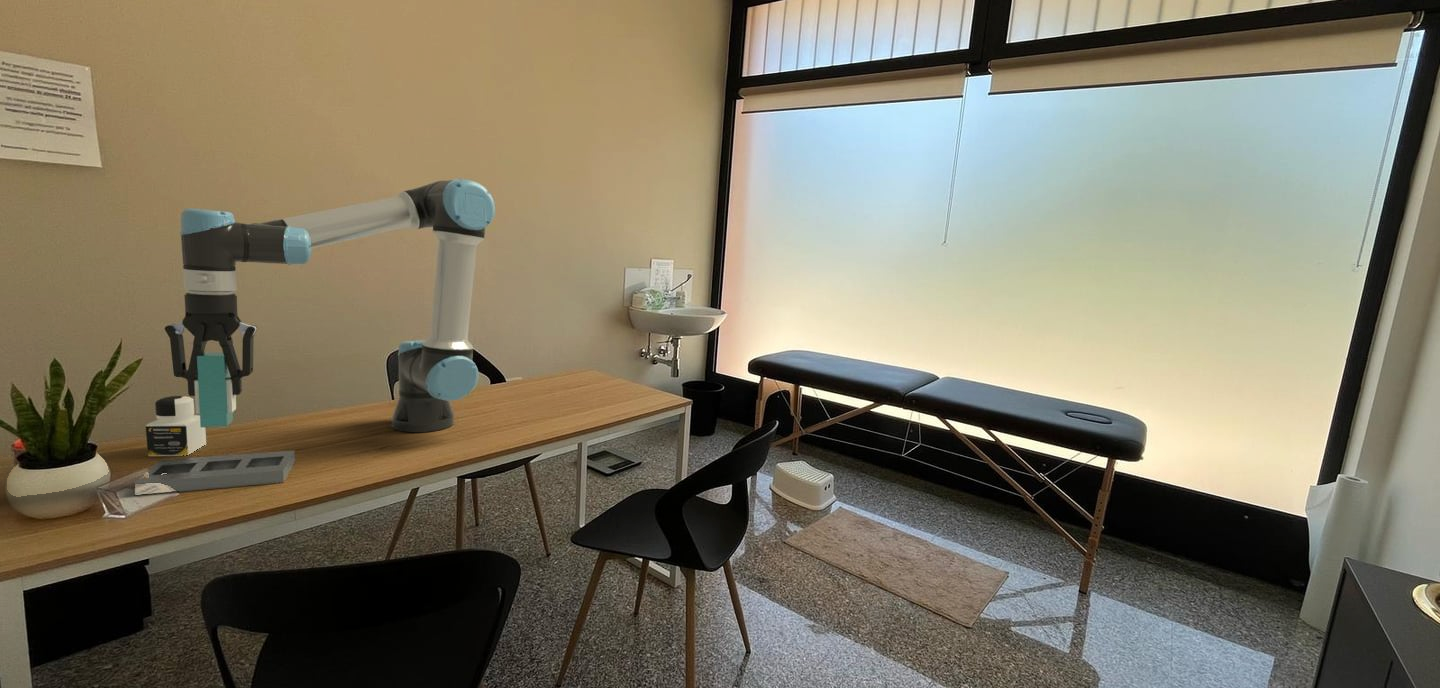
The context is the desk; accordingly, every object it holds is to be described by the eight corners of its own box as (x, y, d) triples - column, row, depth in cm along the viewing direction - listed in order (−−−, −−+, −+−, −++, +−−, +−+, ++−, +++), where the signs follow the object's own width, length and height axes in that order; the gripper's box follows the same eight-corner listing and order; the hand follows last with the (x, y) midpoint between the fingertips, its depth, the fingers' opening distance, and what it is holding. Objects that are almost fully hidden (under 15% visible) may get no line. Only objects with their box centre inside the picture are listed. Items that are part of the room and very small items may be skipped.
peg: (233, 420, 116) (230, 352, 114) (227, 426, 113) (224, 355, 111) (207, 421, 115) (203, 352, 113) (200, 427, 111) (196, 355, 109)
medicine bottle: (147, 457, 122) (142, 402, 121) (168, 445, 129) (164, 393, 127) (188, 456, 124) (184, 402, 123) (207, 445, 131) (203, 393, 129)
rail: (295, 461, 126) (294, 450, 126) (283, 482, 115) (283, 470, 115) (160, 471, 116) (159, 460, 115) (134, 495, 105) (133, 483, 105)
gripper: (142, 291, 103) (150, 419, 106) (262, 296, 111) (266, 414, 114) (159, 288, 109) (166, 408, 113) (271, 292, 117) (274, 404, 121)
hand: (216, 411), depth 113 cm, fingers closed on peg, 4 cm apart
